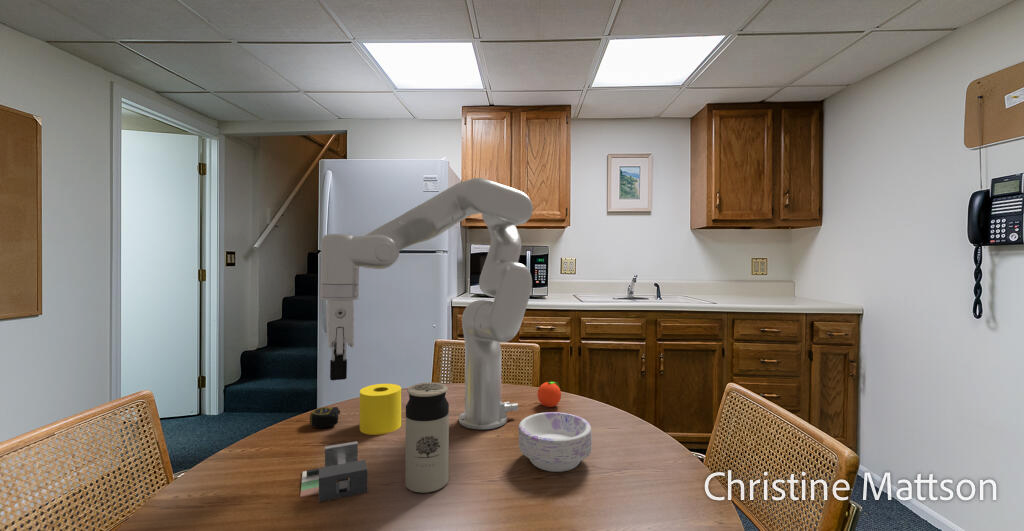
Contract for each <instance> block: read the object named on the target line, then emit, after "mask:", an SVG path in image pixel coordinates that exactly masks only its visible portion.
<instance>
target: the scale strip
mask: <svg viewBox="0 0 1024 531" xmlns="http://www.w3.org/2000/svg"><path fill="white" fill-rule="evenodd" d="M300 486H301V487H300V493H299V494H300V495H299V496H300V497H299V498H305V497H309V496H316V495H319V475H313V476H308V477H307V470H304V471H302V477H301V485H300Z"/></svg>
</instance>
